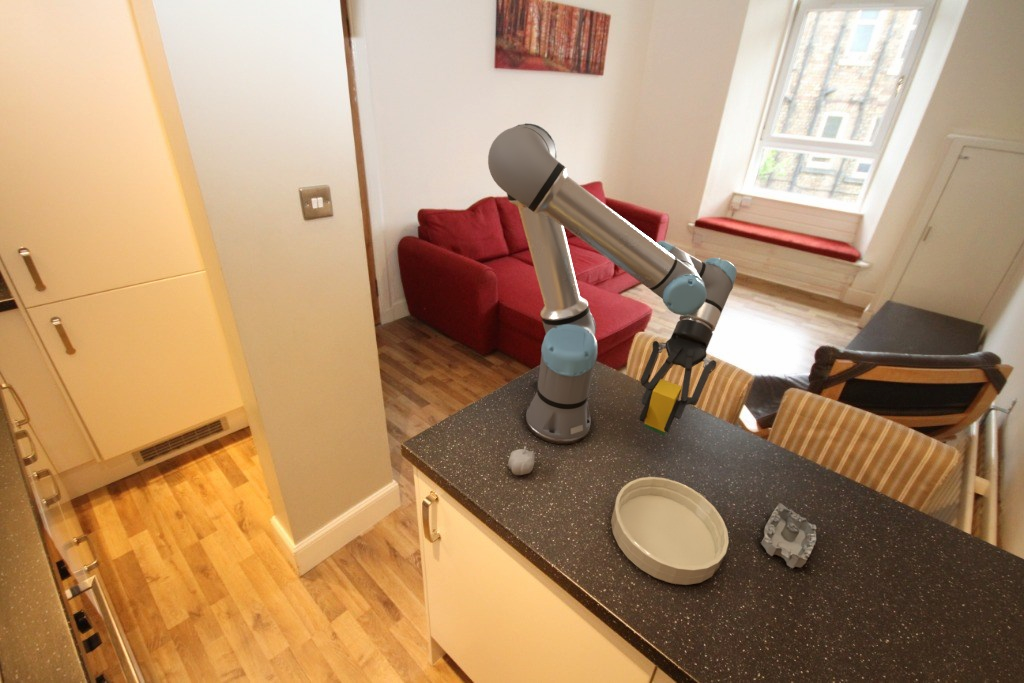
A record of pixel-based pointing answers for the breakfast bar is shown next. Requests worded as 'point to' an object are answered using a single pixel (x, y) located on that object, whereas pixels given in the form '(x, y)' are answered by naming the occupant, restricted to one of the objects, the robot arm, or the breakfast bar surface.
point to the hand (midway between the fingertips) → (653, 425)
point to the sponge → (661, 405)
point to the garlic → (521, 461)
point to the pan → (669, 530)
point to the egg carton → (789, 536)
